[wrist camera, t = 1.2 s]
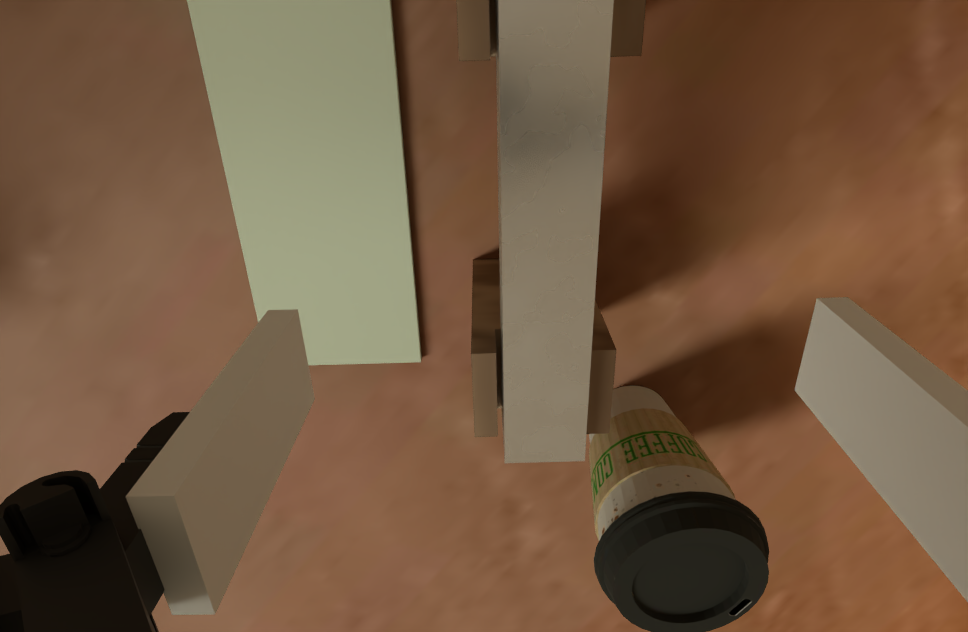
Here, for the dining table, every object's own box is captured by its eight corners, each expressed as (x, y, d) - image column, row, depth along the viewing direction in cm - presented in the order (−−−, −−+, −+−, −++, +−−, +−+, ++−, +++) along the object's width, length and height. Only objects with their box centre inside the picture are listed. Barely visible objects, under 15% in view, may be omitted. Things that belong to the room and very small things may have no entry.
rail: (573, 413, 33) (584, 461, 30) (501, 415, 33) (504, 463, 30) (599, -105, 23) (621, -128, 19) (493, -102, 23) (496, -124, 19)
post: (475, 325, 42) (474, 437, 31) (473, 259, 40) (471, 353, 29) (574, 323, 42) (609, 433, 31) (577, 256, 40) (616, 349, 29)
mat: (270, 362, 43) (268, 366, 43) (169, -104, 31) (163, -106, 30) (421, 357, 43) (420, 362, 43) (381, -110, 31) (380, -113, 30)
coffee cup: (615, 342, 43) (678, 490, 29) (718, 400, 45) (821, 562, 32) (539, 436, 46) (564, 606, 33) (639, 486, 49) (700, 662, 35)
